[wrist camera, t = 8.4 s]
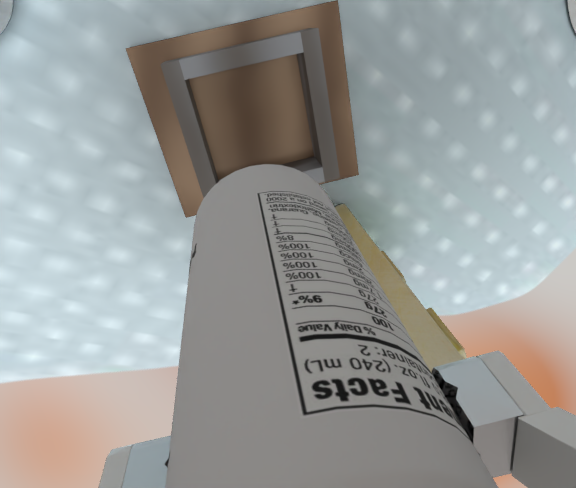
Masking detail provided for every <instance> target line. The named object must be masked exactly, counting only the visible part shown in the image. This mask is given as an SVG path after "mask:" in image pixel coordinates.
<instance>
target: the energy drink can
mask: <svg viewBox="0 0 576 488" xmlns="http://www.w3.org/2000/svg"><path fill="white" fill-rule="evenodd" d="M165 488H498V486H497V485H496V483H495V481H494V479H493V478H492V476H491V474H490V473H489V471H488V469H487V467H486V466H485V464H484V462H483V461H482V459H481V457H480V455H479V454H478V452H477V450H476V449H475V447H474V445H473V444H472V442H471V440H470V438H469V437H468V435H467V433H466V432H465V430H464V428H463V426H462V425H461V423H460V421H459V420H458V418H457V416H456V414H455V413H454V411H453V409H452V408H451V406H450V404H449V402H448V401H447V399H446V397H445V396H444V394H443V392H442V390H441V389H440V387H439V385H438V384H437V382H436V380H435V378H434V377H433V375H432V373H431V372H430V370H429V368H428V366H427V365H426V363H425V361H424V360H423V358H422V356H421V354H420V353H419V351H418V349H417V348H416V346H415V344H414V342H413V341H412V339H411V337H410V336H409V334H408V332H407V330H406V329H405V327H404V325H403V324H402V322H401V320H400V318H399V317H398V315H397V313H396V312H395V310H394V308H393V306H392V305H391V303H390V301H389V300H388V298H387V296H386V294H385V293H384V291H383V289H382V288H381V286H380V284H379V282H378V281H377V279H376V277H375V276H374V274H373V272H372V270H371V269H370V267H369V265H368V264H367V262H366V260H365V258H364V257H363V255H362V253H361V252H360V250H359V248H358V246H357V245H356V243H355V241H354V240H353V238H352V236H351V234H350V233H349V231H348V229H347V228H346V226H345V224H344V222H343V221H342V219H341V217H340V216H339V214H338V212H337V210H336V209H335V207H334V205H333V204H332V202H331V200H330V198H329V197H328V195H327V193H326V192H325V191H324V190H323V188H322V187H321V186H320V185H319V184H318V183H317V182H316V181H315V180H314V179H312V178H311V177H310V176H308V175H307V174H305V173H303V172H301V171H299V170H296V169H294V168H291V167H287V166H283V165H274V164H262V165H255V166H249V167H246V168H243V169H240V170H237V171H235V172H233V173H231V174H229V175H228V176H226V177H224V178H223V179H221V180H220V181H219V182H218V183H217V184H216V185H214V186H213V187H212V188H211V189H210V191H209V192H208V193H207V195H206V196H205V197H204V199H203V200H202V202H201V205H200V207H199V209H198V211H197V215H196V220H195V224H194V233H193V242H192V251H191V260H190V269H189V278H188V287H187V296H186V305H185V314H184V323H183V332H182V341H181V350H180V359H179V368H178V377H177V387H176V396H175V405H174V413H173V422H172V431H171V440H170V449H169V458H168V467H167V476H166V485H165Z"/></svg>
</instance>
